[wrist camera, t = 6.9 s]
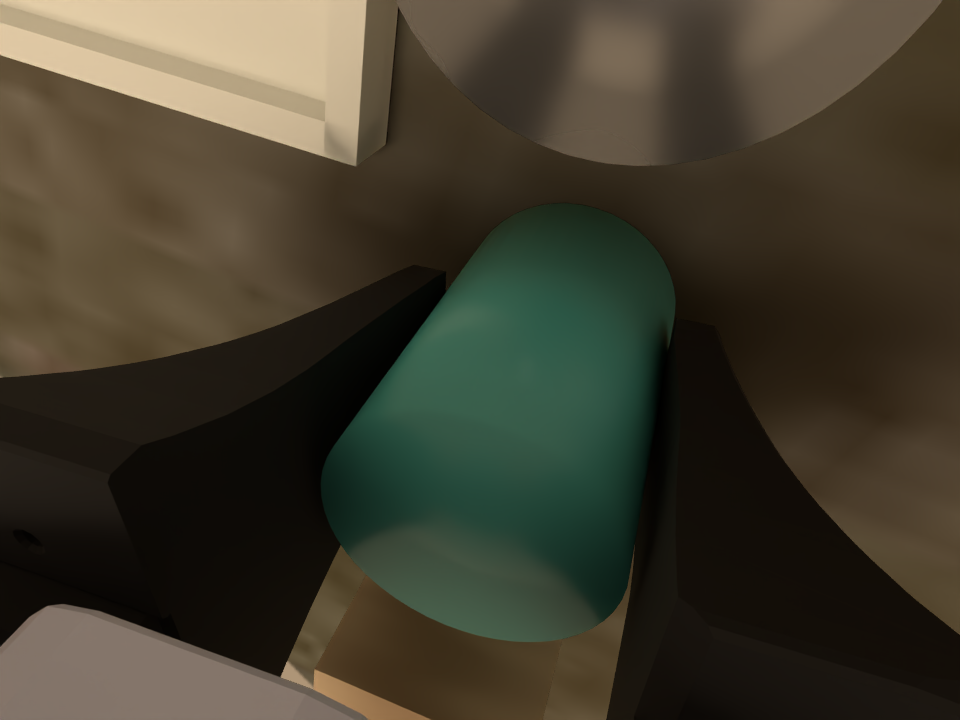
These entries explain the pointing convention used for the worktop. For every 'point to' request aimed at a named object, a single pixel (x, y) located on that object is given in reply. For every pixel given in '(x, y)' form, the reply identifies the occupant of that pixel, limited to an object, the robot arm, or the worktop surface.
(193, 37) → the tray
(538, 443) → the cylinder
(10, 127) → the worktop surface
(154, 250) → the worktop surface
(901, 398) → the worktop surface
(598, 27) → the cylinder
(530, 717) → the oak block
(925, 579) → the worktop surface
